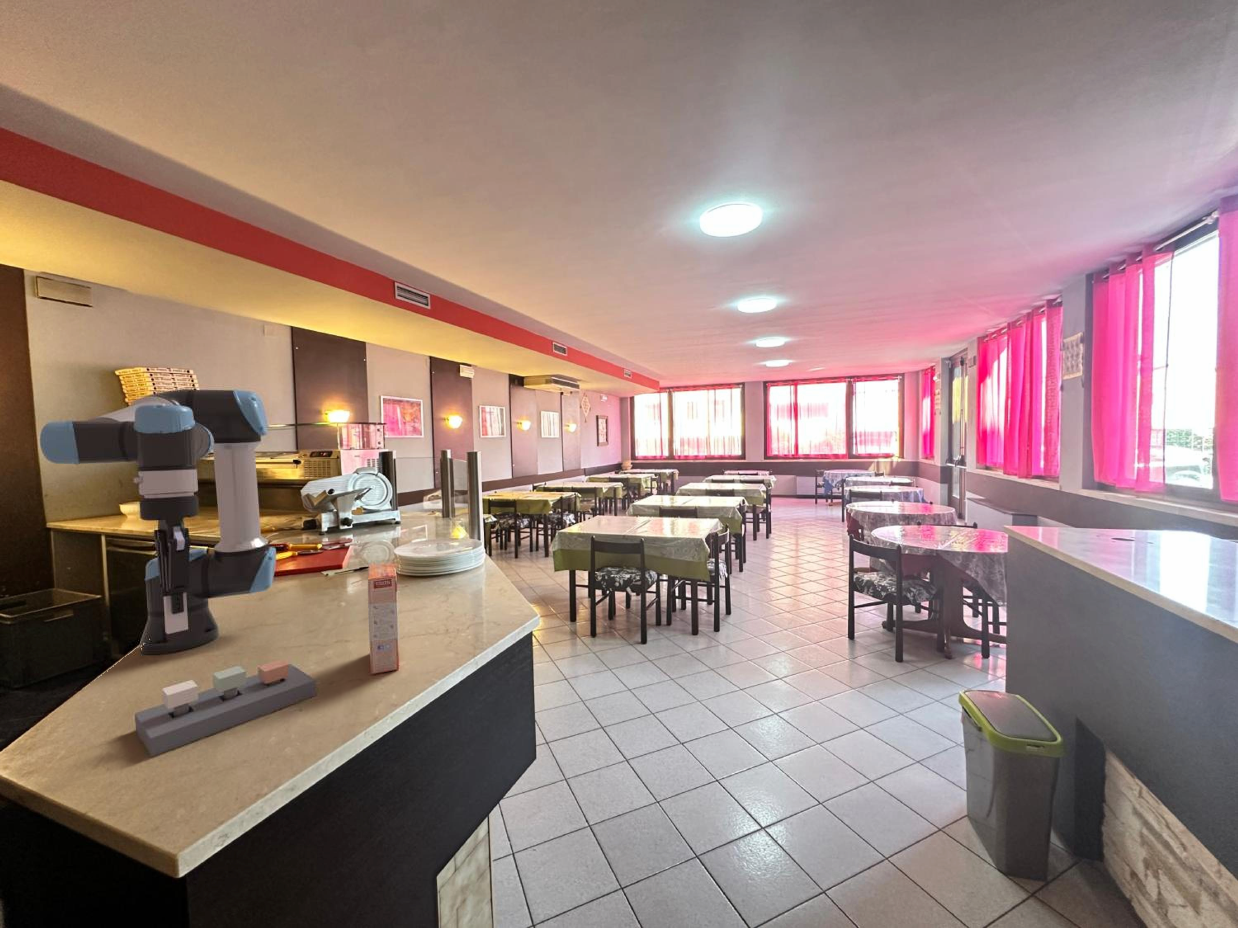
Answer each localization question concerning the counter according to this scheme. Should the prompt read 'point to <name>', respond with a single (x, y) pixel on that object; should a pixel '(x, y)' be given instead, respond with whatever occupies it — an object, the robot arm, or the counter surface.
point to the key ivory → (180, 697)
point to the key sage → (229, 681)
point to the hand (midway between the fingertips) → (176, 630)
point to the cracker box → (383, 618)
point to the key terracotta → (273, 672)
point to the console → (220, 711)
